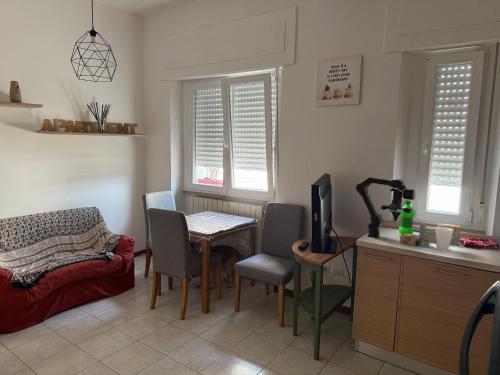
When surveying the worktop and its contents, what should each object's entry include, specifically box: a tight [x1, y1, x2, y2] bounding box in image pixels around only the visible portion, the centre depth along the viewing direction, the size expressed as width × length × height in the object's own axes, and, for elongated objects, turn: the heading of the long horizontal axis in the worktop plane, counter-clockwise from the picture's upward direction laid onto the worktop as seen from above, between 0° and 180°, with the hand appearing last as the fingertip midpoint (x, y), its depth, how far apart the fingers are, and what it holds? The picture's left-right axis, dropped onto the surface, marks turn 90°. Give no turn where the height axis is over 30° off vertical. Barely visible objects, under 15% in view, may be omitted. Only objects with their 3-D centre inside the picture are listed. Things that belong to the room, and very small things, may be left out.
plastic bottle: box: [398, 199, 416, 236], centre depth 245 cm, size 10×10×25 cm
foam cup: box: [435, 226, 453, 252], centre depth 214 cm, size 10×9×13 cm
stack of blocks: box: [424, 222, 461, 246], centre depth 230 cm, size 21×6×12 cm, turn 69°
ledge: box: [399, 233, 425, 247], centre depth 225 cm, size 12×10×5 cm
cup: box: [418, 239, 431, 248], centre depth 221 cm, size 6×6×4 cm
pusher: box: [418, 222, 427, 239], centre depth 221 cm, size 2×6×9 cm, turn 141°
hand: (395, 221), depth 231 cm, fingers closed
